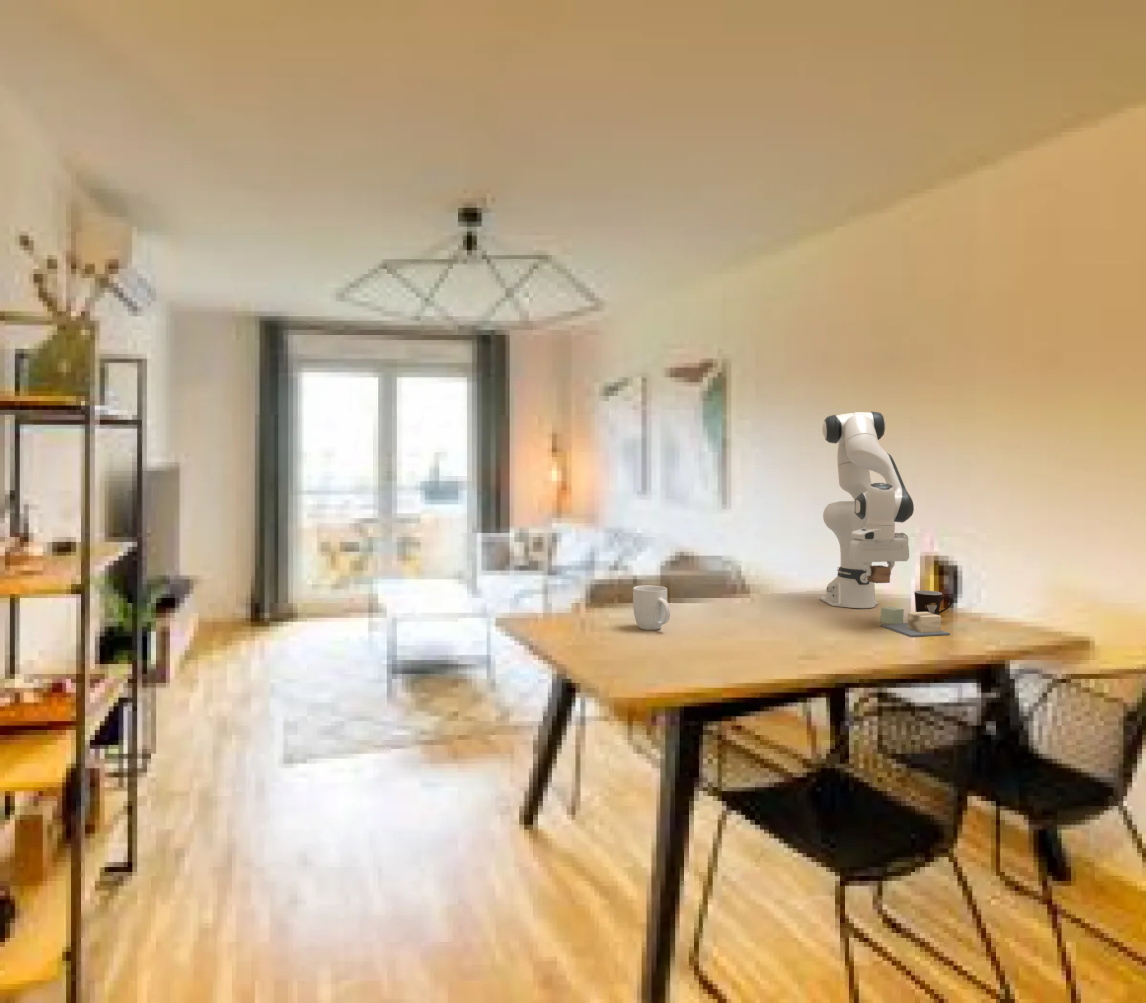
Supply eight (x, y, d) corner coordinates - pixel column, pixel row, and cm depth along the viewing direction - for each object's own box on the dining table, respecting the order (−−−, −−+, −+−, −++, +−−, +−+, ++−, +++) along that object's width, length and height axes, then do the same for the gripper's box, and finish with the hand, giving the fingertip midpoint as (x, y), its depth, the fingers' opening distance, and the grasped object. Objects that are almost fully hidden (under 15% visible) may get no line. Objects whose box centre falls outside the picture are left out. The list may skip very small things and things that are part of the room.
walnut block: (867, 580, 271) (867, 565, 271) (880, 580, 272) (881, 565, 272) (876, 583, 266) (876, 567, 266) (889, 582, 267) (890, 567, 267)
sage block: (880, 622, 279) (881, 607, 278) (890, 620, 281) (891, 606, 281) (892, 625, 274) (893, 610, 274) (903, 623, 277) (903, 609, 276)
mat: (880, 626, 272) (880, 624, 272) (917, 624, 275) (917, 622, 275) (911, 637, 256) (911, 635, 256) (949, 635, 260) (950, 633, 260)
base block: (907, 627, 267) (908, 612, 267) (926, 626, 269) (926, 611, 268) (921, 632, 260) (922, 617, 260) (940, 631, 262) (941, 616, 261)
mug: (681, 631, 261) (682, 590, 261) (654, 635, 255) (655, 594, 255) (652, 623, 274) (652, 584, 273) (625, 626, 268) (626, 587, 267)
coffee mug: (912, 622, 278) (913, 593, 277) (914, 618, 285) (915, 589, 285) (949, 626, 272) (951, 596, 272) (951, 621, 280) (952, 592, 279)
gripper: (902, 531, 273) (901, 573, 274) (846, 532, 269) (845, 574, 270) (914, 533, 267) (912, 575, 268) (857, 534, 263) (856, 577, 264)
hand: (878, 575), depth 269 cm, fingers closed on walnut block, 5 cm apart
